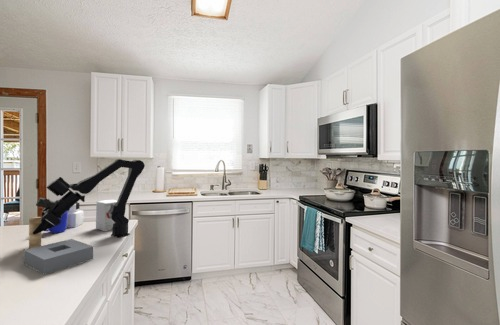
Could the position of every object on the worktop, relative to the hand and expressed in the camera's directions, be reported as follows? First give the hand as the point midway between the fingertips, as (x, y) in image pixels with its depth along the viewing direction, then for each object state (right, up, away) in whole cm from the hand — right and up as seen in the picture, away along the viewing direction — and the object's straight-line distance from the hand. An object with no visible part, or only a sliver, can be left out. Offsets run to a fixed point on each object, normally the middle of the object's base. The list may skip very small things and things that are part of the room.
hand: (33, 231), depth 111 cm
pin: (0, -8, 0) cm, 8 cm away
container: (-9, -7, +37) cm, 38 cm away
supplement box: (+13, -7, +33) cm, 37 cm away
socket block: (+20, -8, -12) cm, 24 cm away
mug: (-9, -7, +23) cm, 26 cm away
